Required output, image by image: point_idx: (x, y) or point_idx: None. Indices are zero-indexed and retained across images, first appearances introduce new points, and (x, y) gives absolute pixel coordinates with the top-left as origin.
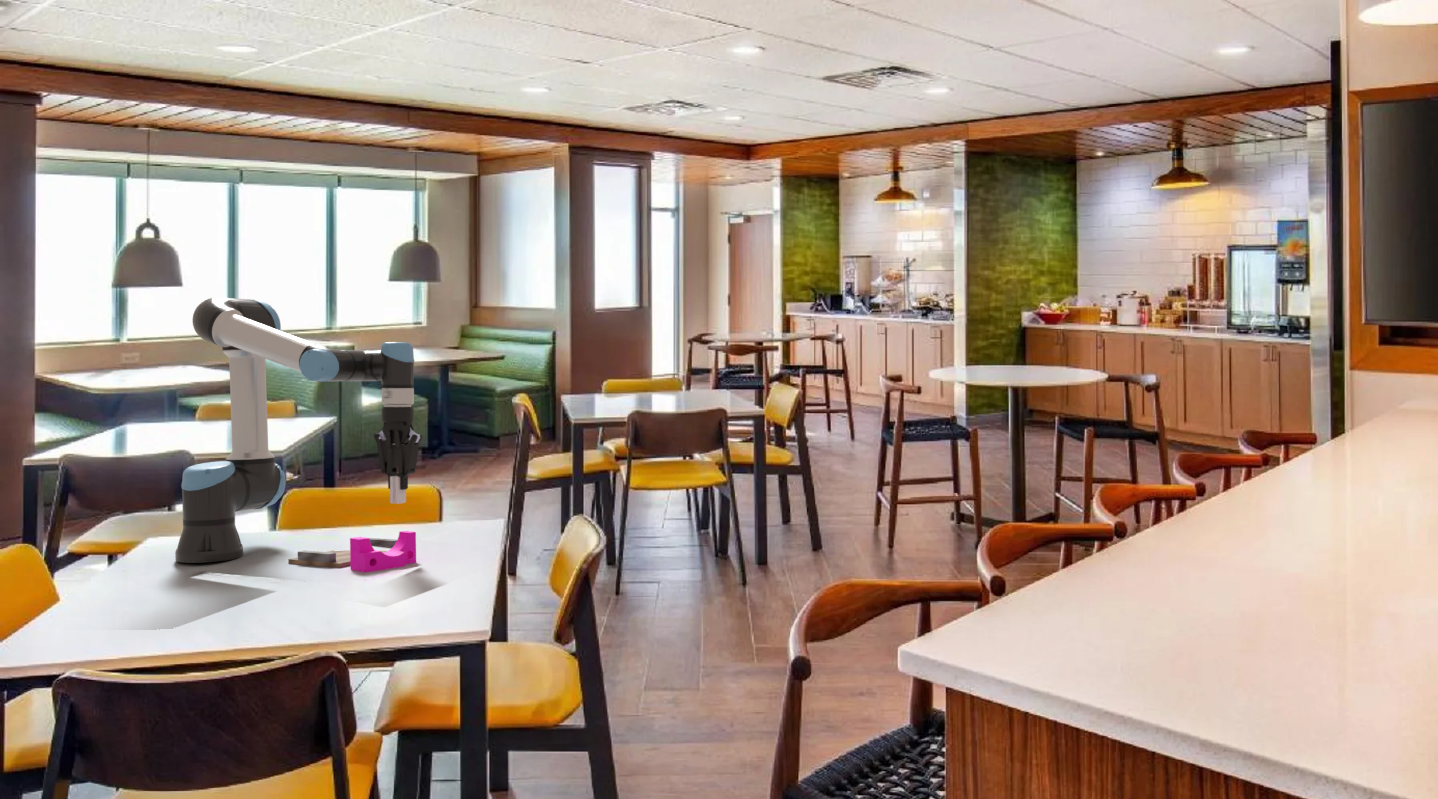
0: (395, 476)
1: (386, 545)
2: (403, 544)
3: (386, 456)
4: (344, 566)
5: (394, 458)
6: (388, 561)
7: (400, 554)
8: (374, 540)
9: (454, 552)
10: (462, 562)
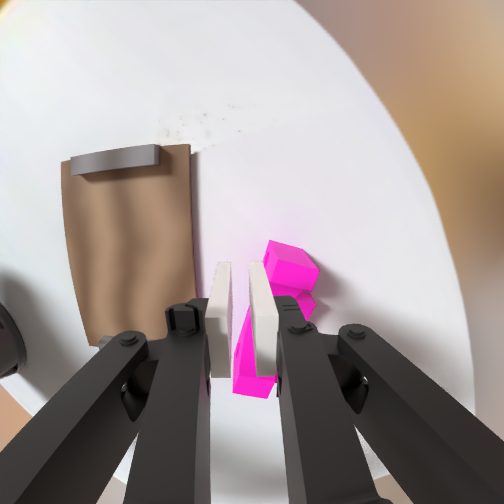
0: (229, 356)
1: (134, 167)
2: (297, 290)
3: (100, 439)
4: None
5: (203, 445)
6: None
7: (310, 311)
8: (97, 171)
9: (293, 105)
10: (388, 213)
